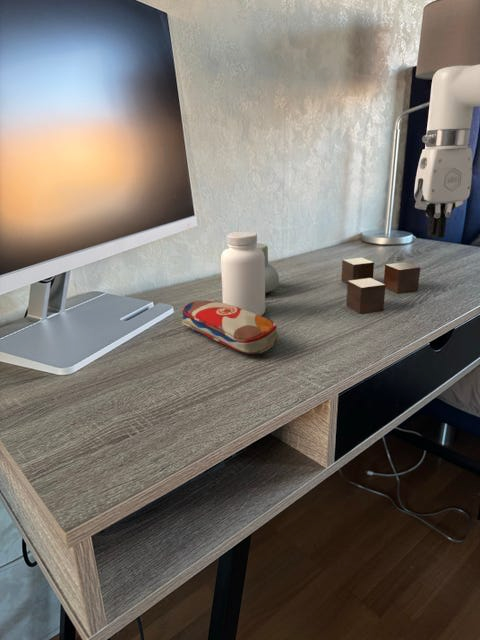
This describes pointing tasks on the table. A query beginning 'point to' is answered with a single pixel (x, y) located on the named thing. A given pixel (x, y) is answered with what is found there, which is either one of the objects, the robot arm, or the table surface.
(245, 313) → the pencil case
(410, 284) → the block middle
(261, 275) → the pill bottle
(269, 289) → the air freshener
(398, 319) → the table surface
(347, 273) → the block
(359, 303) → the block
